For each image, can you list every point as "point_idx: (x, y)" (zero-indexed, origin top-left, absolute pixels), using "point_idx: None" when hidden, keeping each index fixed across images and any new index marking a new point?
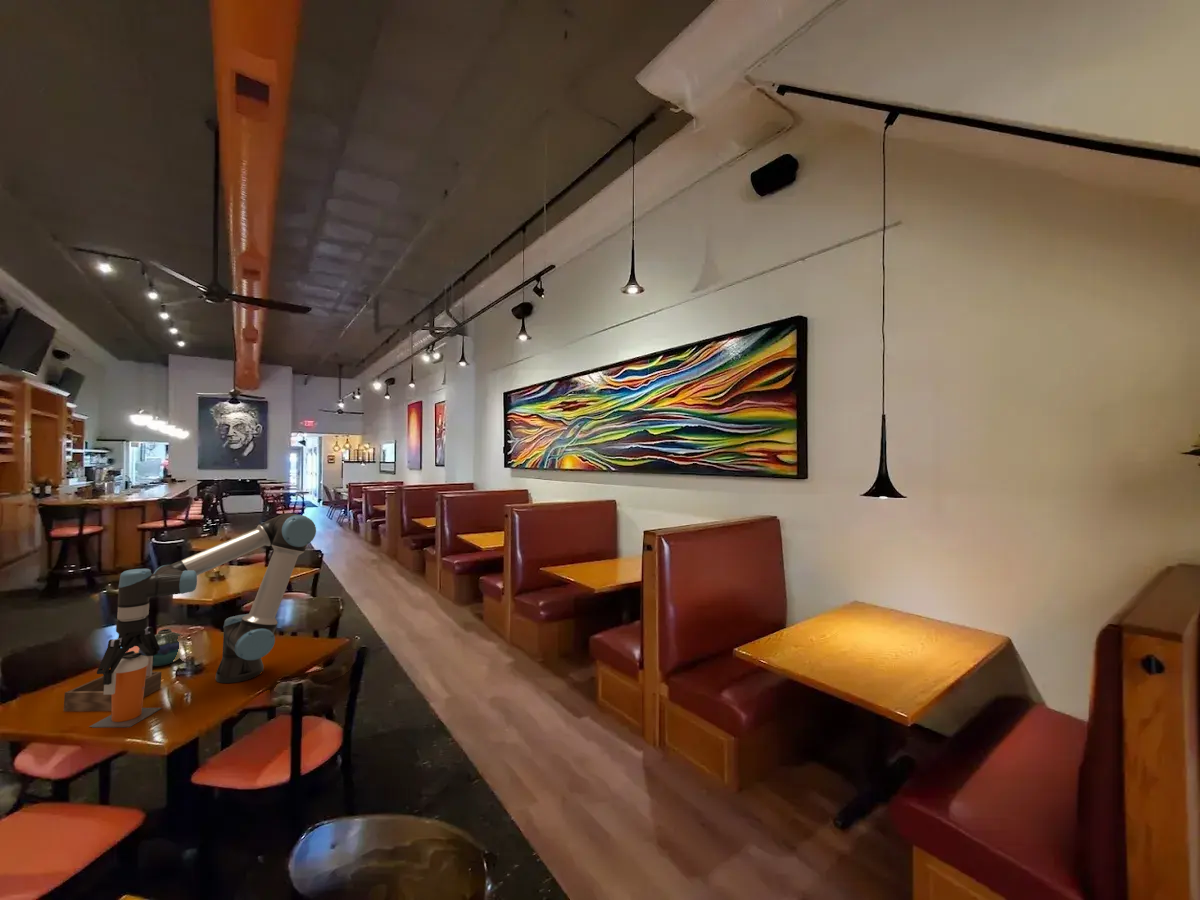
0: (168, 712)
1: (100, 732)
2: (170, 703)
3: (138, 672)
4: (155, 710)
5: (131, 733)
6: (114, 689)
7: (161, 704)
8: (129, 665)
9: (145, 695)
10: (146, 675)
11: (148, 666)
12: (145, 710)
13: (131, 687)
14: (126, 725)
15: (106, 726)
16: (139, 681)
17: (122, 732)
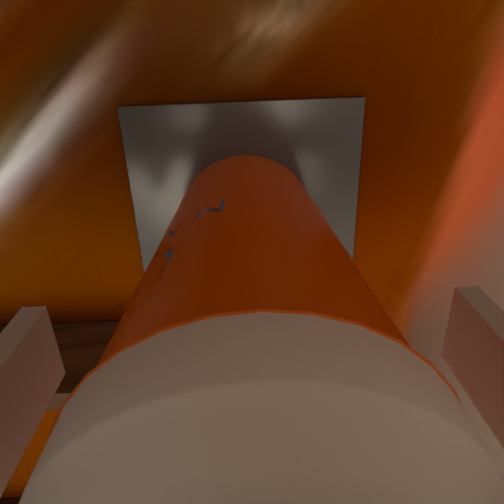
0: (160, 5)
1: (405, 209)
2: (41, 109)
3: (323, 301)
4: (157, 115)
5: (447, 12)
6: (485, 309)
7: (66, 158)
8: (488, 477)
9: (2, 329)
10: (51, 339)
11: (1, 397)
12: (165, 178)
13: (335, 248)
14: (353, 127)
15: (354, 228)
16: (282, 237)
17: (424, 86)
